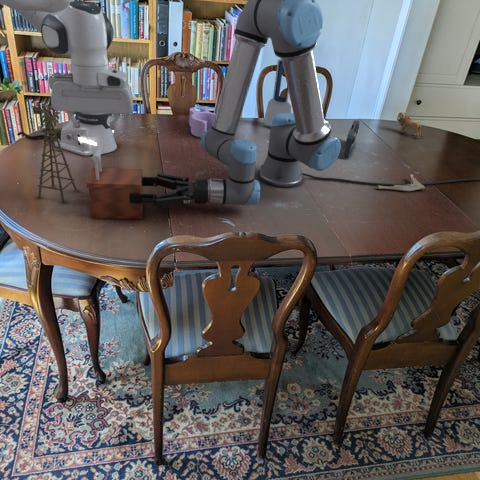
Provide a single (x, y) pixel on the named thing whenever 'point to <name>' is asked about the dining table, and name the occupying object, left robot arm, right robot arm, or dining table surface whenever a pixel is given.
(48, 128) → the miniature windmill
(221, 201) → the right robot arm
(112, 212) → the open box
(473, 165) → the dining table surface
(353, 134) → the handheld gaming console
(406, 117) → the lion figurine
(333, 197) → the dining table surface
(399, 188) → the jawbone
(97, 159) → the wooden panel with handle
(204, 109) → the clip
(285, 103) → the electronic device
